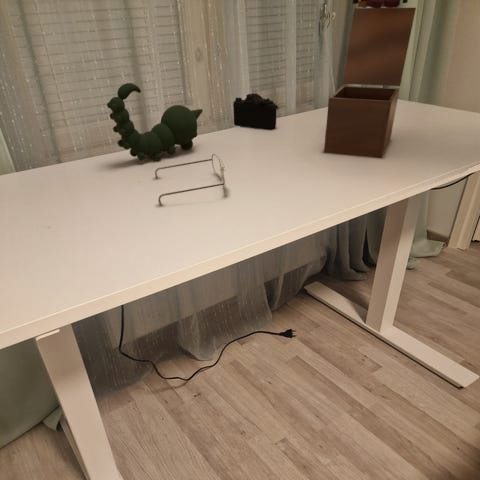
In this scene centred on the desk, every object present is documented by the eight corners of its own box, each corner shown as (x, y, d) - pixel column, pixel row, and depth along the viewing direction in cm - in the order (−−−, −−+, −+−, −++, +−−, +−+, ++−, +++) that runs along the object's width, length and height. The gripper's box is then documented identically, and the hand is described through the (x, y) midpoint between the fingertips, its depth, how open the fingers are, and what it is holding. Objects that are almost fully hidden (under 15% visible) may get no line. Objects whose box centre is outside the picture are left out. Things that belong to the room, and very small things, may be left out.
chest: (381, 158, 106) (391, 101, 98) (323, 152, 110) (328, 98, 102) (390, 140, 117) (399, 88, 109) (337, 136, 121) (342, 85, 113)
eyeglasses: (231, 198, 89) (230, 174, 86) (159, 206, 87) (155, 182, 83) (218, 172, 101) (217, 150, 98) (155, 178, 99) (152, 156, 96)
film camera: (286, 123, 134) (287, 91, 128) (272, 131, 127) (273, 97, 122) (244, 118, 140) (244, 87, 134) (229, 125, 133) (228, 93, 128)
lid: (415, 7, 101) (415, 8, 102) (354, 8, 106) (354, 9, 106) (399, 86, 108) (400, 86, 109) (342, 83, 113) (343, 83, 113)
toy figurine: (136, 176, 105) (217, 145, 115) (114, 92, 92) (206, 66, 103) (119, 167, 111) (197, 138, 121) (95, 86, 98) (185, 62, 109)
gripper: (466, -149, 79) (435, 1, 93) (345, -135, 86) (333, 2, 100) (466, -157, 74) (433, 3, 88) (336, -142, 81) (325, 4, 95)
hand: (379, 3), depth 94 cm, fingers closed on binoculars, 10 cm apart
